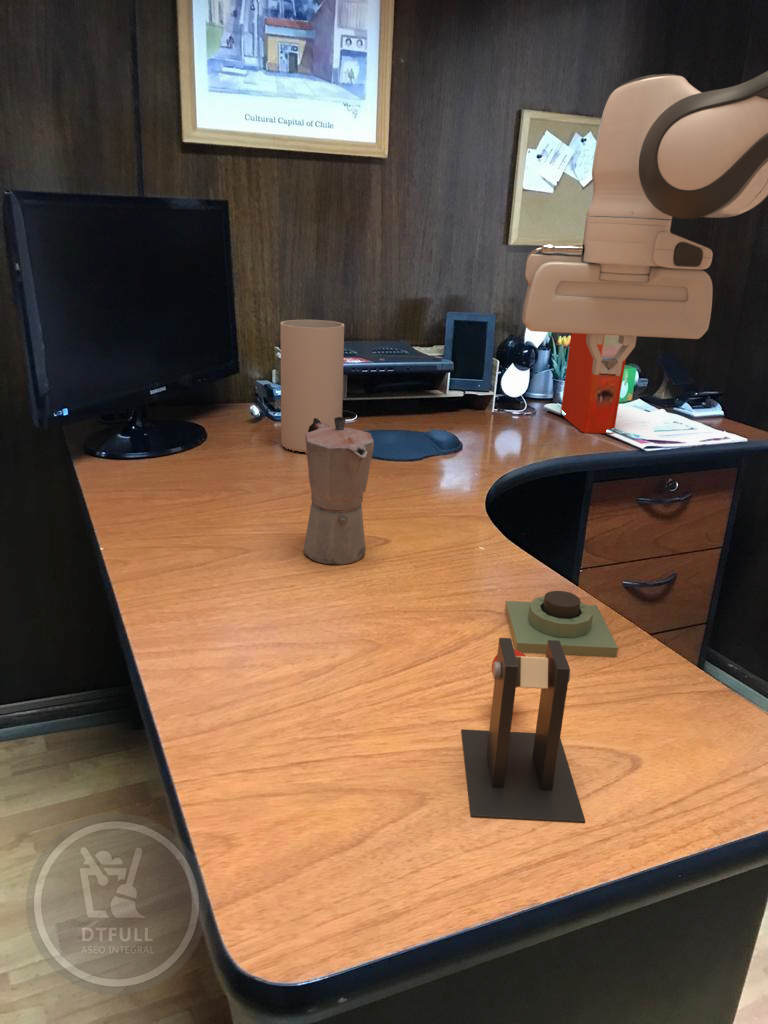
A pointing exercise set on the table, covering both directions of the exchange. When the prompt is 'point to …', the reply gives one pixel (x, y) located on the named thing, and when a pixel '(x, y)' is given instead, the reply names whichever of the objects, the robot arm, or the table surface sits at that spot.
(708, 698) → the table surface
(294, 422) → the cylinder vase
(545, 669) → the lever
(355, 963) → the table surface
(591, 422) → the file binder
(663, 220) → the robot arm
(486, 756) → the switch base
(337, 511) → the moka pot
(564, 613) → the button
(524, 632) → the block
